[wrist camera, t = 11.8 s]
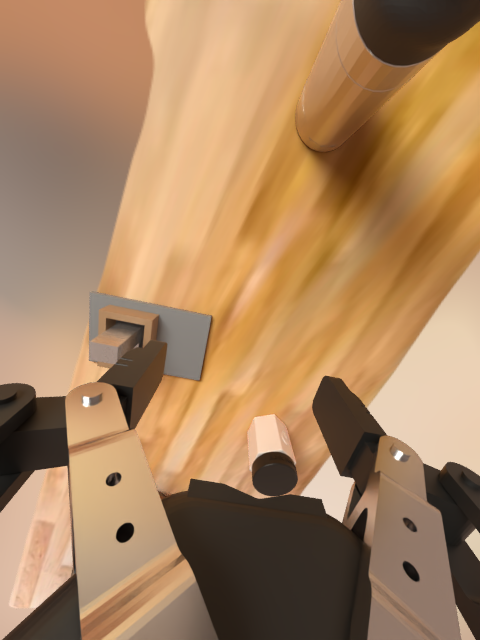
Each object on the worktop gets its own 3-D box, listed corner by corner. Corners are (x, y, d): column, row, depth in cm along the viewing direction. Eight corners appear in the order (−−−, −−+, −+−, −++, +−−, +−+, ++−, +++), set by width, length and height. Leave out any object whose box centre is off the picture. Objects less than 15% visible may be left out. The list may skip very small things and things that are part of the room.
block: (123, 319, 42) (89, 341, 32) (144, 324, 42) (117, 347, 32) (120, 348, 43) (88, 376, 34) (141, 352, 44) (115, 381, 34)
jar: (292, 430, 51) (308, 483, 40) (264, 448, 53) (272, 504, 42) (268, 406, 49) (278, 455, 38) (240, 426, 51) (241, 478, 39)
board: (92, 291, 41) (76, 296, 37) (211, 315, 42) (209, 323, 38) (91, 358, 45) (77, 369, 41) (199, 378, 47) (196, 390, 43)
